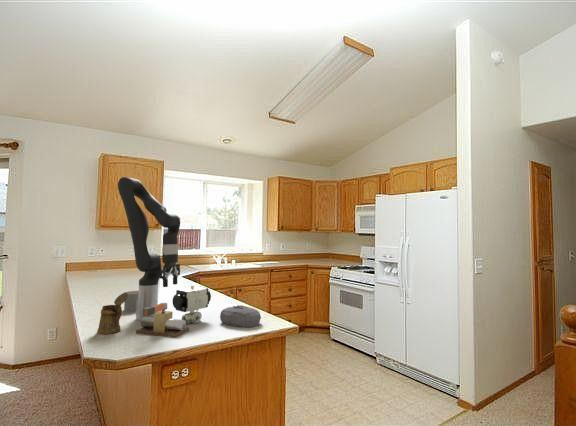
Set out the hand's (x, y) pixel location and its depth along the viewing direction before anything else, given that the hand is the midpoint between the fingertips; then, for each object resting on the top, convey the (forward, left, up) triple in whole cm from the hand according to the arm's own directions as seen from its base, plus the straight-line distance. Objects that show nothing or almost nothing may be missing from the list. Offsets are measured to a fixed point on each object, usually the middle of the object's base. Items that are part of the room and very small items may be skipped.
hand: (170, 285), depth 166 cm
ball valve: (+13, +1, -18) cm, 22 cm away
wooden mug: (-12, -24, -18) cm, 32 cm away
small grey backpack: (+37, +6, -18) cm, 41 cm away
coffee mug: (-33, +17, -18) cm, 41 cm away
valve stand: (+9, -17, -17) cm, 26 cm away
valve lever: (+9, -23, -8) cm, 25 cm away
